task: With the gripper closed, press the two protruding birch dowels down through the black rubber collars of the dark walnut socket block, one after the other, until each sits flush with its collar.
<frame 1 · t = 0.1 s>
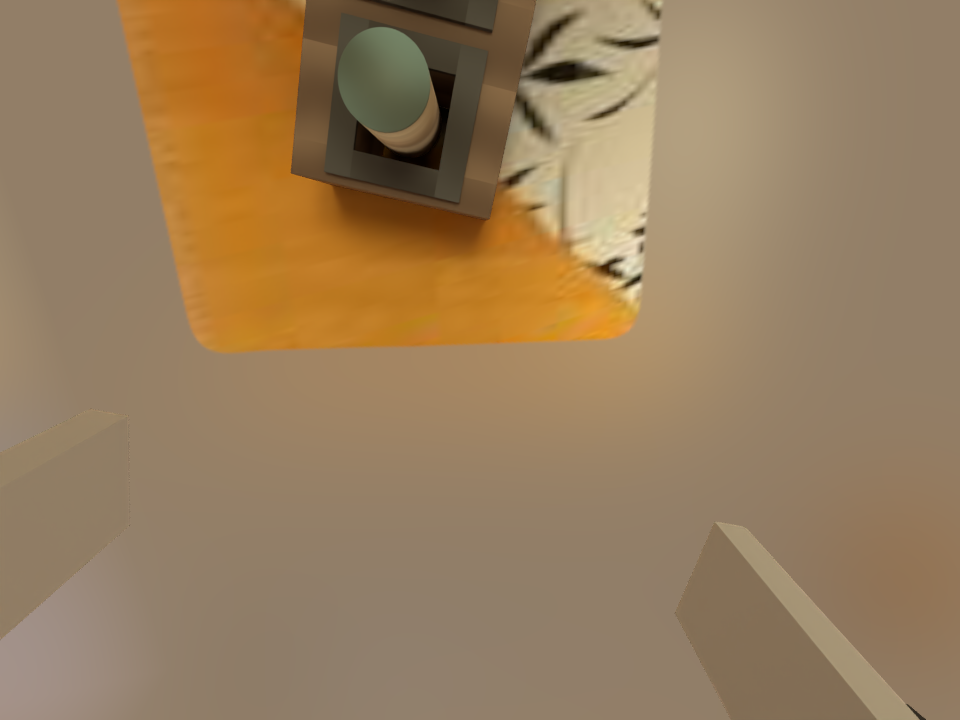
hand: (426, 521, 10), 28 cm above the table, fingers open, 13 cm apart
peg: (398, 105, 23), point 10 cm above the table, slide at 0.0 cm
socket block: (430, 72, 32), on the table
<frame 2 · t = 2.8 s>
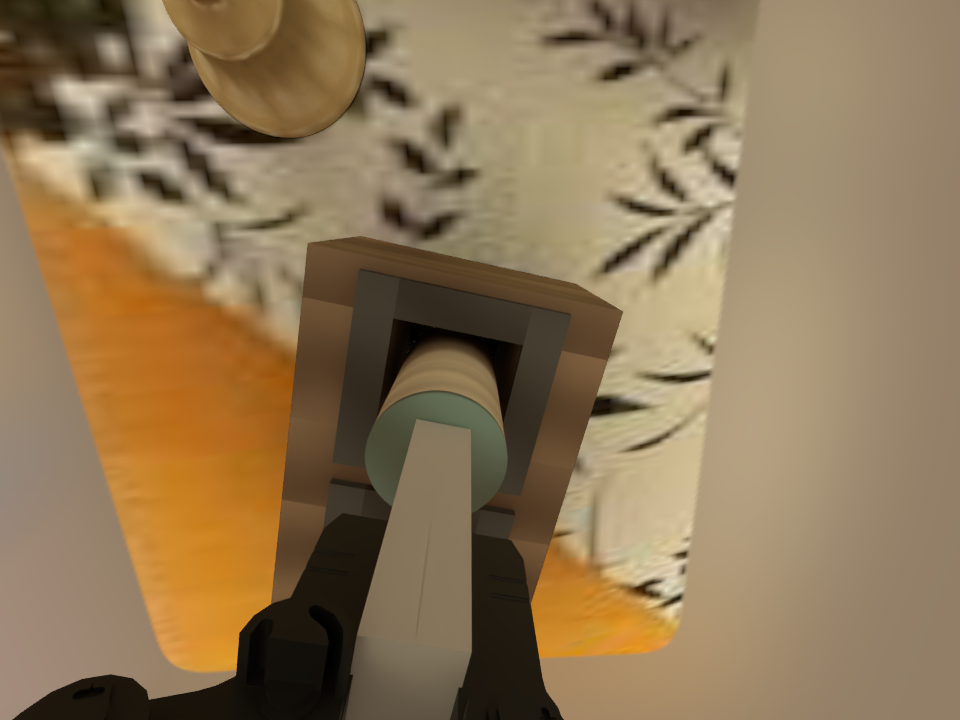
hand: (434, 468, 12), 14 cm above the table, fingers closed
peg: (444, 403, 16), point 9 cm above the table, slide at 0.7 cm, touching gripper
hand bell: (280, 43, 21), on the table
socket block: (439, 409, 27), on the table
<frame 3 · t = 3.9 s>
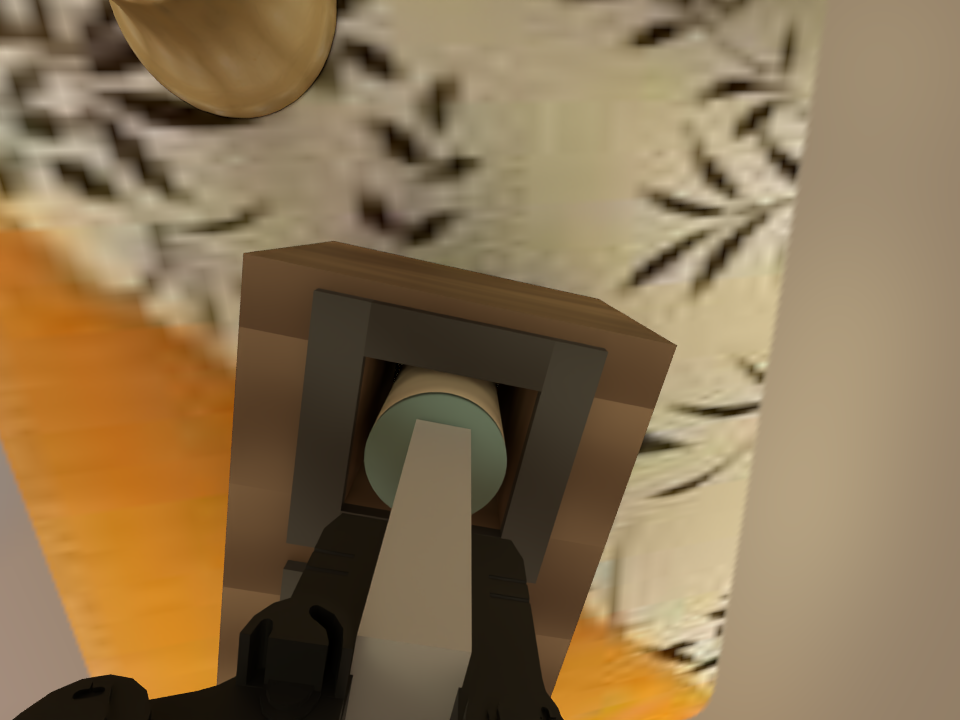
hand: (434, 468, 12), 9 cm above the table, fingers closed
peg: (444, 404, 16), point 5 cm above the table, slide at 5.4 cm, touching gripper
socket block: (432, 449, 22), on the table
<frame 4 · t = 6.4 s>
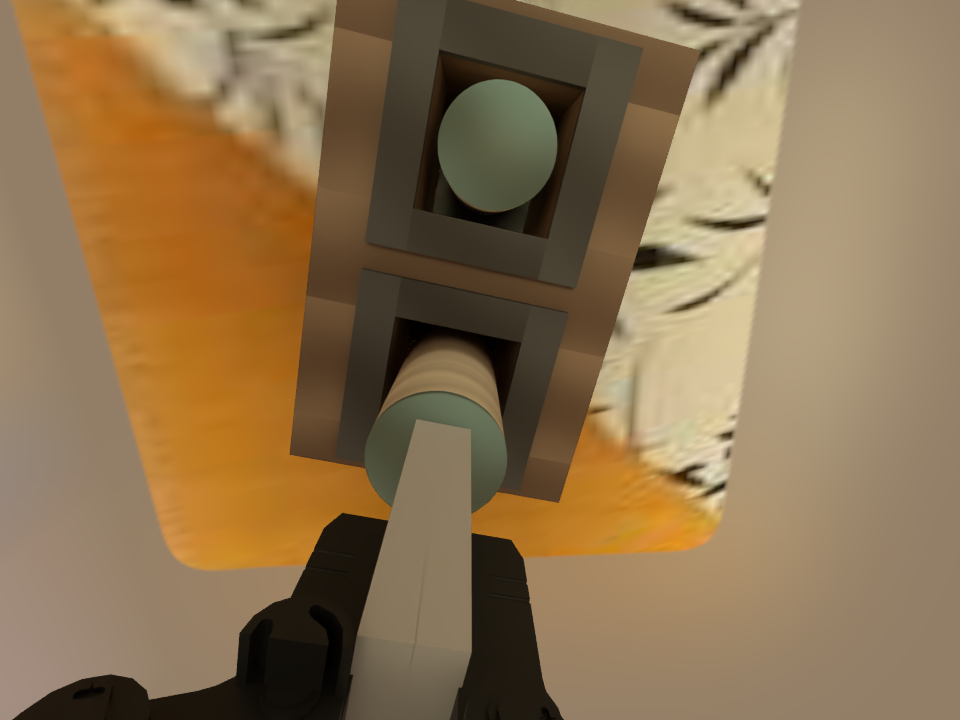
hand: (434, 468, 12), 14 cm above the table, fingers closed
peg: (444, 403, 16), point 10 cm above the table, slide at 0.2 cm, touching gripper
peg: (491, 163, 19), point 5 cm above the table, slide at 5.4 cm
socket block: (470, 260, 25), on the table
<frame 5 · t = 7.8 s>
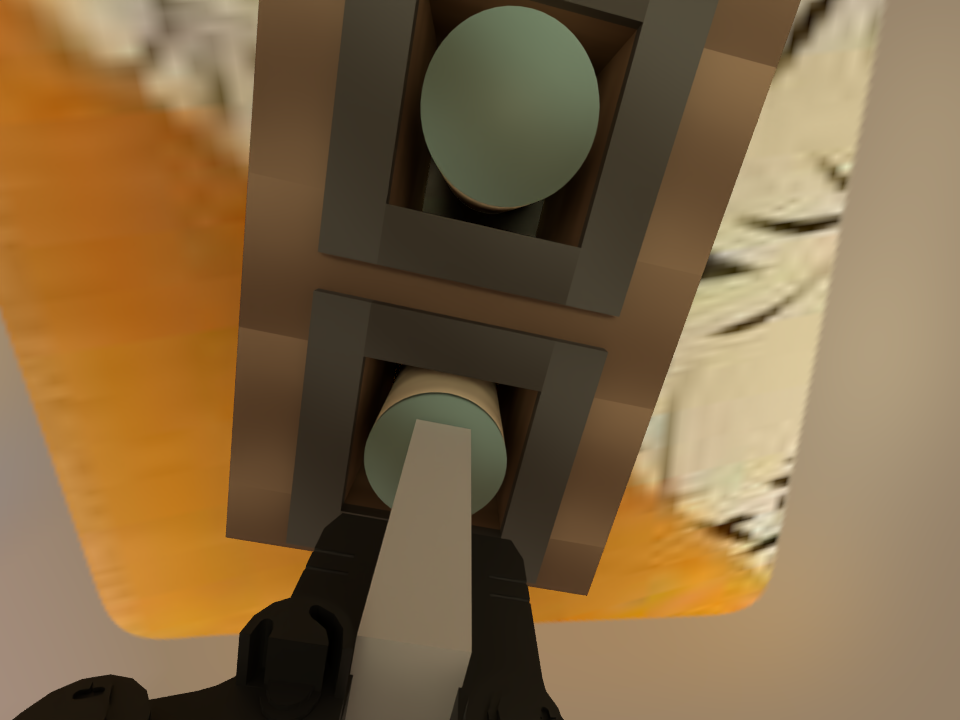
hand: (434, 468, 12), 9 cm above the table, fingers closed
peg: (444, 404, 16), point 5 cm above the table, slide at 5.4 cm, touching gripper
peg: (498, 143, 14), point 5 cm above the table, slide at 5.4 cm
socket block: (469, 271, 20), on the table
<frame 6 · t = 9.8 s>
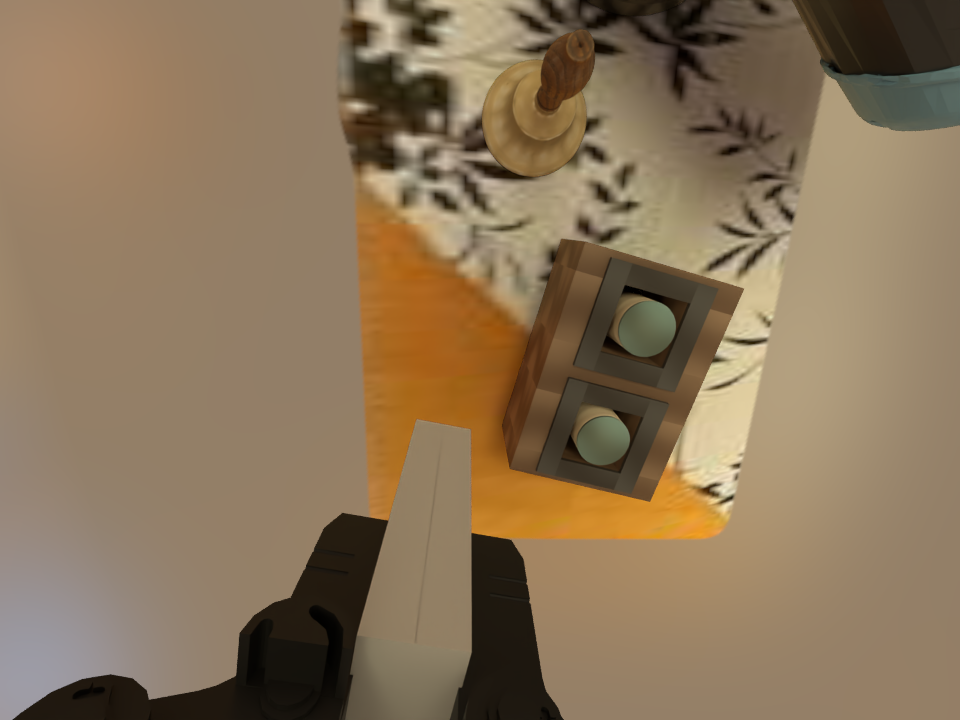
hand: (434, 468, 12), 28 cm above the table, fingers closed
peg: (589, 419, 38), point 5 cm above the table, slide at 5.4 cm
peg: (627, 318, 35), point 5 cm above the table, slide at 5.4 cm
hand bell: (533, 121, 36), on the table
socket block: (591, 354, 41), on the table
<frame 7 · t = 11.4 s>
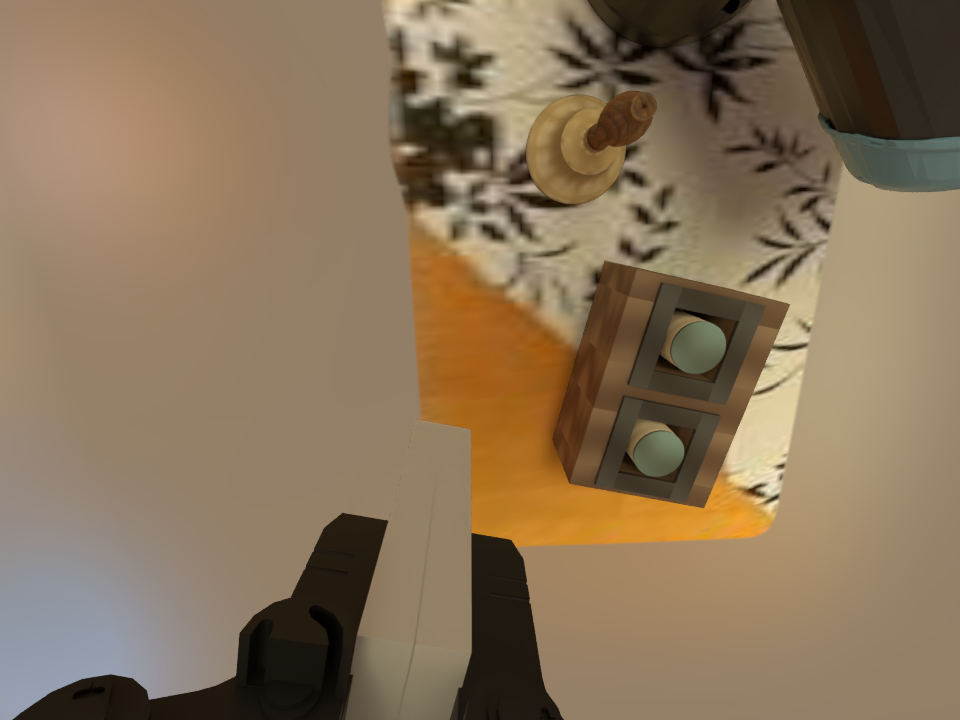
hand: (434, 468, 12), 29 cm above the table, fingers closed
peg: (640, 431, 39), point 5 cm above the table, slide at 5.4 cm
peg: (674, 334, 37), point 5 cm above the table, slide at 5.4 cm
hand bell: (574, 152, 37), on the table
socket block: (636, 367, 43), on the table
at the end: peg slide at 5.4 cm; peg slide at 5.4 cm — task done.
